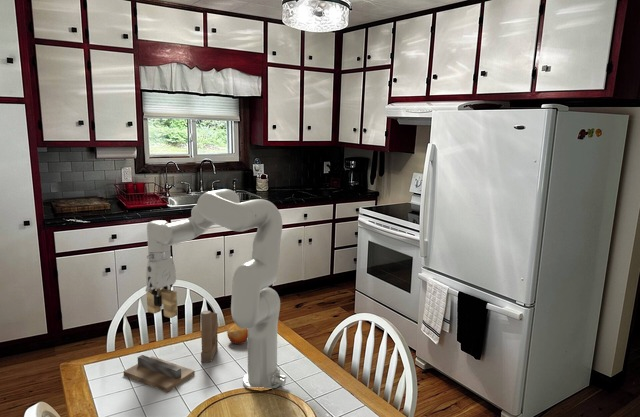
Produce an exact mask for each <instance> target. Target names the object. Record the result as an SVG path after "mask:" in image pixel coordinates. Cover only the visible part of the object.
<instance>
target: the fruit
mask: <svg viewBox="0 0 640 417" xmlns="http://www.w3.org/2000/svg"><path fill="white" fill-rule="evenodd" d="M226 333H227V338H228V340H229V341H230V342H231V343H233V344H239V345H242V344H245V343H246V342H247V341H248V329H243V328H240V327H238V326H237V325H236V324H235V323H234V324H233V325H231V326H230V327H229V328H228V329H227V332H226Z"/></svg>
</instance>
